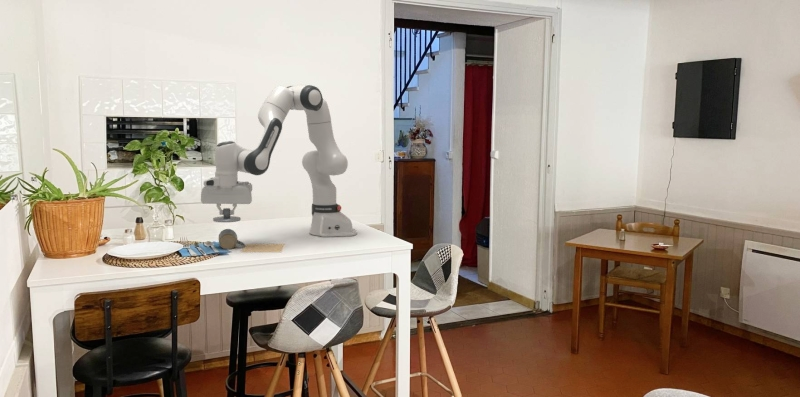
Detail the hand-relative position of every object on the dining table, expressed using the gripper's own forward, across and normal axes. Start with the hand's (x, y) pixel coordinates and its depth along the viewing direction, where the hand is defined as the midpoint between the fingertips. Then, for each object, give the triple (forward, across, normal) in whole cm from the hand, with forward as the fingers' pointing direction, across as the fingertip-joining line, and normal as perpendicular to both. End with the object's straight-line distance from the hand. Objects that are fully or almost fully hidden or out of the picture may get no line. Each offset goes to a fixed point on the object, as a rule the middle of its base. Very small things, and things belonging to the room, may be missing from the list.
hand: (226, 214), depth 254 cm
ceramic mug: (+14, -2, 0) cm, 15 cm away
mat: (+14, -15, +2) cm, 21 cm away
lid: (+2, 0, 0) cm, 2 cm away
